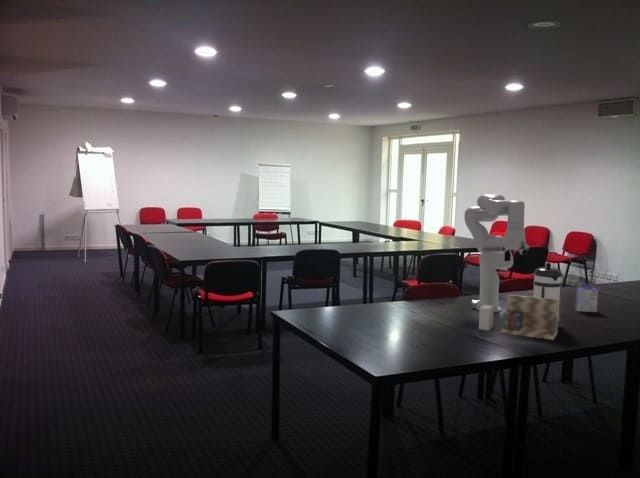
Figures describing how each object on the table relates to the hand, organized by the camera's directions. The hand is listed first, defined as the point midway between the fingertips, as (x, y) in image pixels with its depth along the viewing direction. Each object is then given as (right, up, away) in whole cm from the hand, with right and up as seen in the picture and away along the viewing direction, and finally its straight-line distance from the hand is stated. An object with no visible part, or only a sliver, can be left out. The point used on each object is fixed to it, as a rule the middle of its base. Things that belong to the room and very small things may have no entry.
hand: (514, 261), depth 262 cm
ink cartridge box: (+48, -27, +27) cm, 61 cm away
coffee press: (+14, -30, 0) cm, 33 cm away
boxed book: (-16, -31, -8) cm, 36 cm away
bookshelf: (0, -32, -17) cm, 36 cm away
